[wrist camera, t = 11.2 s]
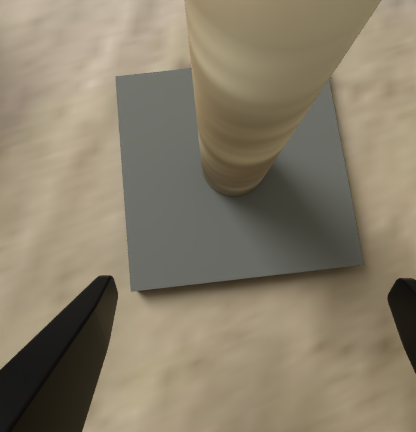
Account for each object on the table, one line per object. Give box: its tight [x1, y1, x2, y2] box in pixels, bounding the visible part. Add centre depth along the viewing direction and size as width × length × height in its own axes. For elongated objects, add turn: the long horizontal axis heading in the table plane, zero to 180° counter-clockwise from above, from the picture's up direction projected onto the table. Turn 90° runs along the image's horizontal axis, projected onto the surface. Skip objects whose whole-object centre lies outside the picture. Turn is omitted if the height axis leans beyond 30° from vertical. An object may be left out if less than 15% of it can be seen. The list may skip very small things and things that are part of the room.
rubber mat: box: [116, 68, 364, 292], centre depth 18 cm, size 14×14×1 cm
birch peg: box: [185, 0, 381, 197], centre depth 12 cm, size 4×4×12 cm
